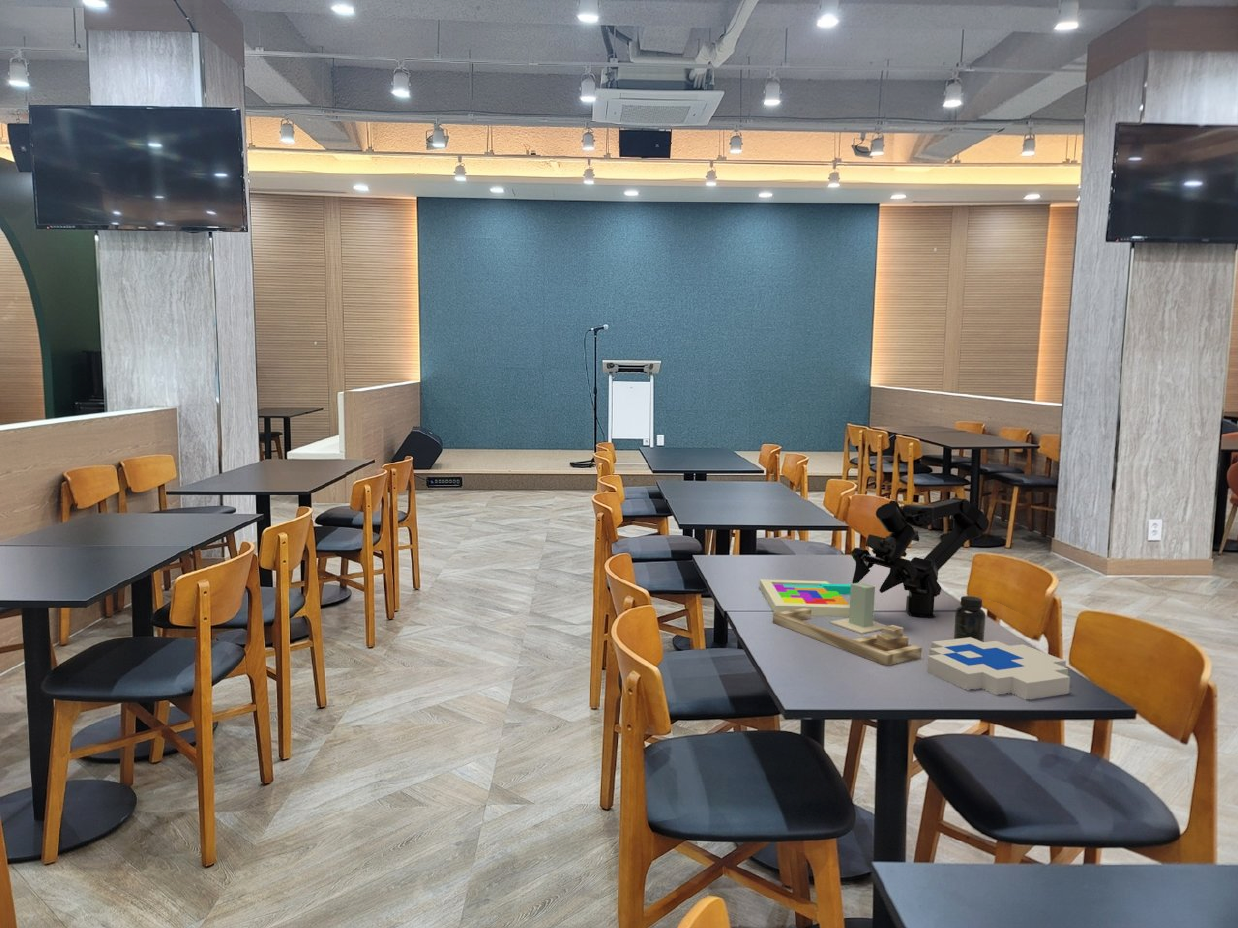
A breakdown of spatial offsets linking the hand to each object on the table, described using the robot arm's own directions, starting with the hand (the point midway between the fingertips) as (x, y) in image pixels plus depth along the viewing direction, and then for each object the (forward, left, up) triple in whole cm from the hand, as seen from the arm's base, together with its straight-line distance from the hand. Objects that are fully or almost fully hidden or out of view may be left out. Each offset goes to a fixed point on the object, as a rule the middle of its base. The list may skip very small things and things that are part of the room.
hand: (866, 587), depth 223 cm
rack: (+8, +14, -10) cm, 19 cm away
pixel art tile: (-23, +33, -11) cm, 42 cm away
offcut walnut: (-3, +22, -10) cm, 25 cm away
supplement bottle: (-23, +13, -10) cm, 28 cm away
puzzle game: (+9, -22, -11) cm, 26 cm away
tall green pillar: (+1, +1, -10) cm, 10 cm away
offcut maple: (-2, +22, -6) cm, 23 cm away
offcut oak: (-2, +22, -8) cm, 24 cm away
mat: (+1, +1, -10) cm, 10 cm away
